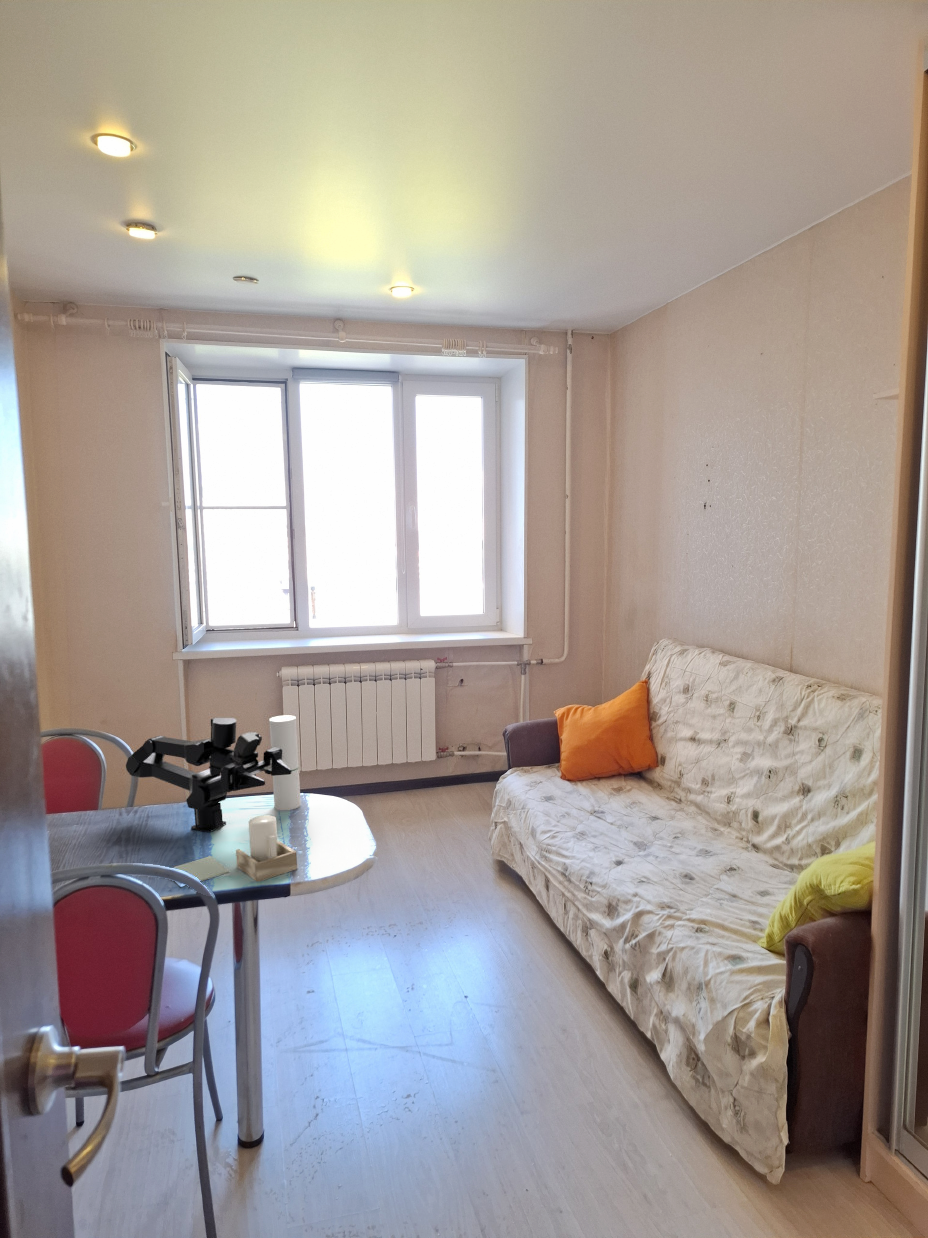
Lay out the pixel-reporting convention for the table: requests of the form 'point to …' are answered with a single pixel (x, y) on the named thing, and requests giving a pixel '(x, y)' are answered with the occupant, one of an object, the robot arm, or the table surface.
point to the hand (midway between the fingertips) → (278, 777)
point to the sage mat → (204, 868)
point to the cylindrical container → (286, 762)
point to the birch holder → (268, 863)
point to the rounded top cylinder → (263, 838)
